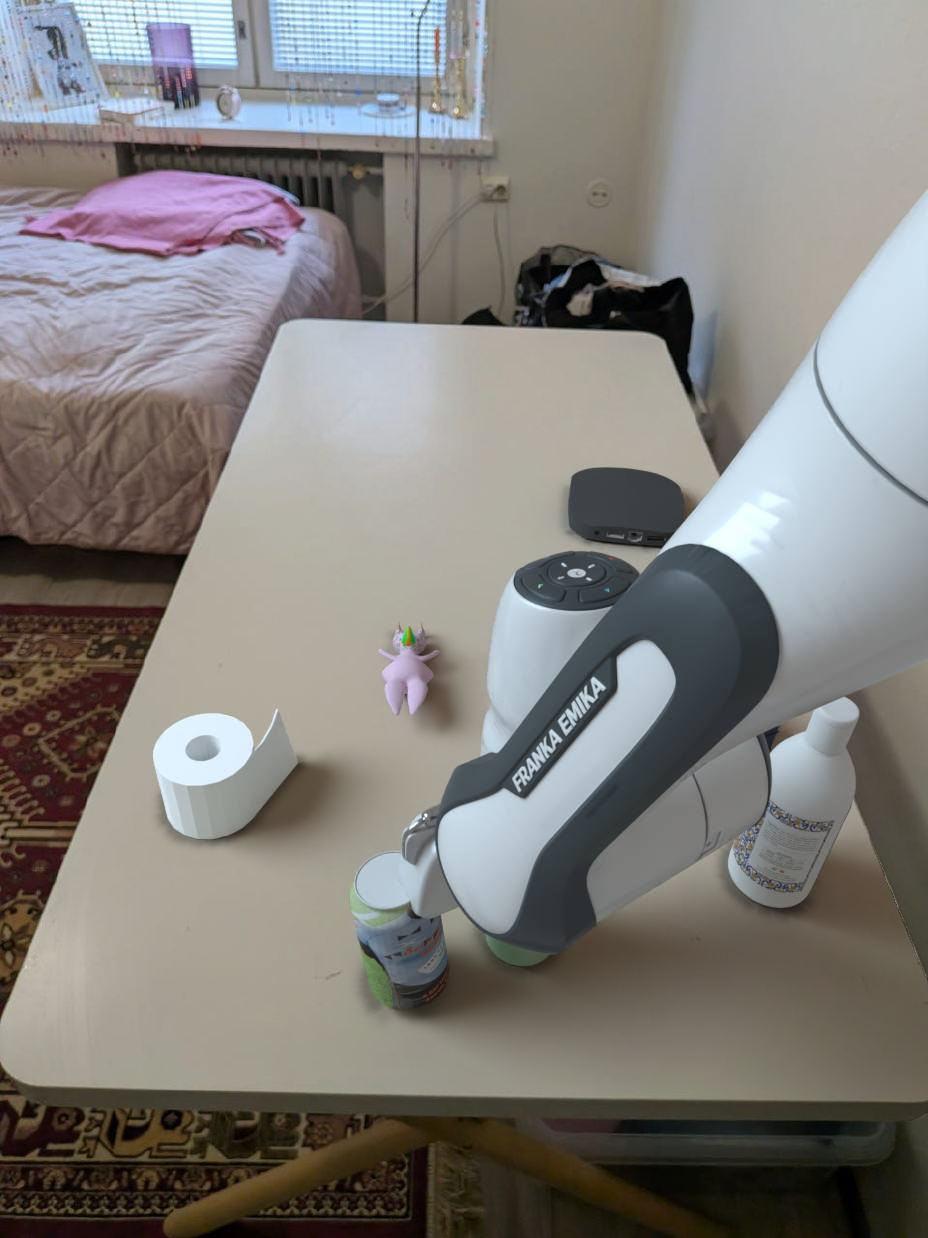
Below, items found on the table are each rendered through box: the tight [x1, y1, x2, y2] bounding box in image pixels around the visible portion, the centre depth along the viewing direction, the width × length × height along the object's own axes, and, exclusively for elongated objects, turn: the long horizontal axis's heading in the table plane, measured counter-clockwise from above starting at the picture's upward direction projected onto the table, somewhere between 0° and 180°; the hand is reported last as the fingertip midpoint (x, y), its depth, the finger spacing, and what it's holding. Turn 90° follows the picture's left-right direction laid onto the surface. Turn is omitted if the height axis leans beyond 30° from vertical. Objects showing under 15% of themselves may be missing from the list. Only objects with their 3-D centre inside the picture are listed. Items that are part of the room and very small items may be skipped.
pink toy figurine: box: [378, 621, 440, 717], centre depth 93 cm, size 6×6×15 cm
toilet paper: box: [152, 708, 299, 840], centre depth 81 cm, size 8×11×7 cm
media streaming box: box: [567, 466, 686, 547], centre depth 120 cm, size 15×15×3 cm
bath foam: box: [727, 696, 860, 909], centre depth 72 cm, size 7×7×20 cm
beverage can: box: [348, 850, 450, 1011], centre depth 66 cm, size 6×7×12 cm
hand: (528, 890), depth 69 cm, fingers open, 6 cm apart
